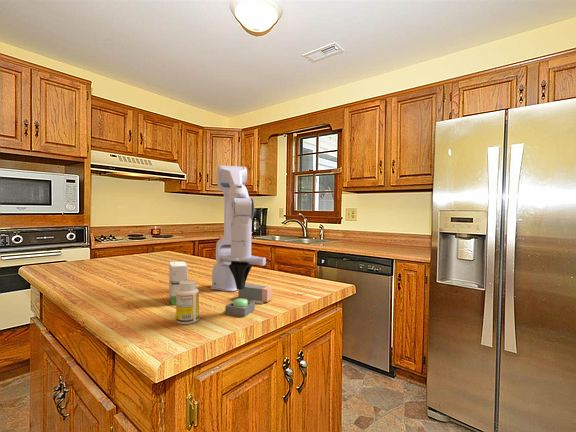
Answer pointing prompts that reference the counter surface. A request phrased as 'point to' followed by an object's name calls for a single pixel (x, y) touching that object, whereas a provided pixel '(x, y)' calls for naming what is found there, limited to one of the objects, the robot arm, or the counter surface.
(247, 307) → the button housing
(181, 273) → the ink box
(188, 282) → the supplement bottle
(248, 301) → the sheet
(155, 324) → the counter surface
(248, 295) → the grey rectangular block
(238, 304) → the button
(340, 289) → the counter surface
